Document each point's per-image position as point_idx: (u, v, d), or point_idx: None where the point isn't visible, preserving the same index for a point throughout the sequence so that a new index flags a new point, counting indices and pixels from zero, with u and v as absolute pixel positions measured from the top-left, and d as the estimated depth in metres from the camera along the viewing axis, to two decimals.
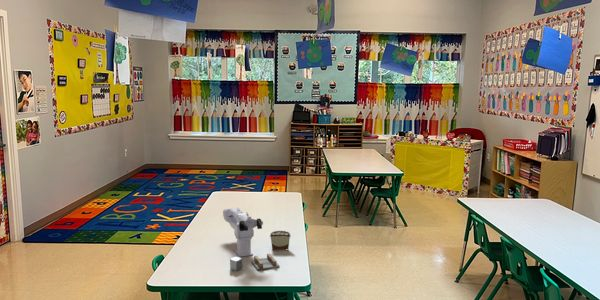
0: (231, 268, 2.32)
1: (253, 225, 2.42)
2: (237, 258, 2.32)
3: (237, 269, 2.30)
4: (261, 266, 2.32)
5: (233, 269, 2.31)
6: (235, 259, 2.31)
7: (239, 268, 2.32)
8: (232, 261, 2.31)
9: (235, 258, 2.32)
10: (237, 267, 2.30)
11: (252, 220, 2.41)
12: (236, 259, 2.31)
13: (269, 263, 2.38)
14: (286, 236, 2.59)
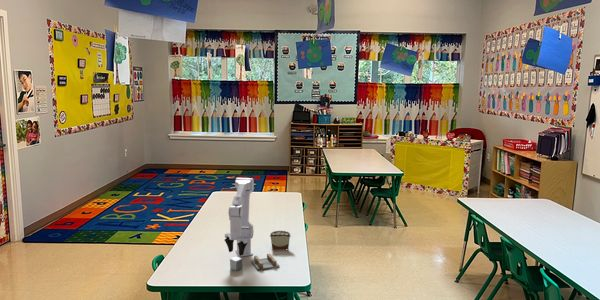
0: (231, 268, 2.32)
1: None
2: (237, 258, 2.32)
3: (237, 269, 2.30)
4: (261, 266, 2.32)
5: (233, 269, 2.31)
6: (235, 259, 2.31)
7: (239, 268, 2.32)
8: (232, 261, 2.31)
9: (235, 258, 2.32)
10: (237, 267, 2.30)
11: None
12: (236, 259, 2.31)
13: (269, 263, 2.38)
14: (286, 236, 2.59)
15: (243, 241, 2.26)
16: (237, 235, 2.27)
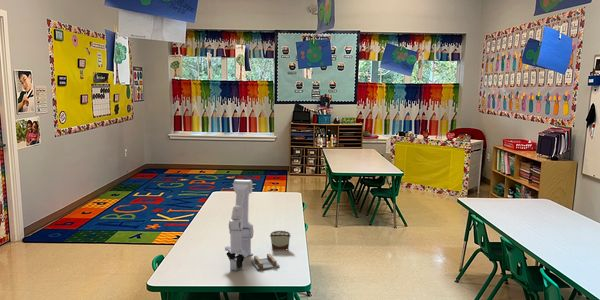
0: (231, 268, 2.32)
1: None
2: None
3: (237, 269, 2.30)
4: (261, 266, 2.32)
5: (233, 269, 2.31)
6: (235, 259, 2.31)
7: (239, 268, 2.32)
8: (232, 261, 2.31)
9: (235, 258, 2.32)
10: (237, 267, 2.30)
11: None
12: (236, 259, 2.31)
13: (269, 263, 2.38)
14: (286, 236, 2.59)
15: (243, 255, 2.27)
16: (237, 249, 2.29)
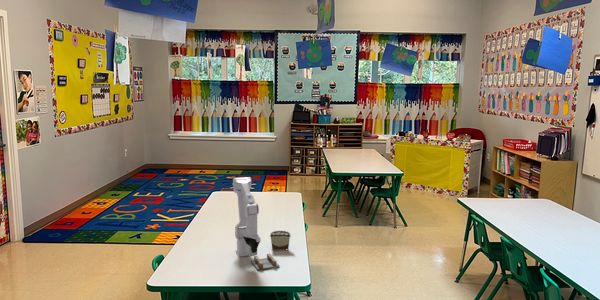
0: (246, 252, 2.35)
1: None
2: None
3: (251, 254, 2.32)
4: (261, 266, 2.32)
5: (247, 253, 2.33)
6: (250, 244, 2.33)
7: (253, 253, 2.33)
8: (247, 245, 2.33)
9: (250, 243, 2.35)
10: (251, 252, 2.32)
11: None
12: None
13: (269, 263, 2.38)
14: (286, 236, 2.59)
15: (256, 239, 2.28)
16: (252, 233, 2.30)
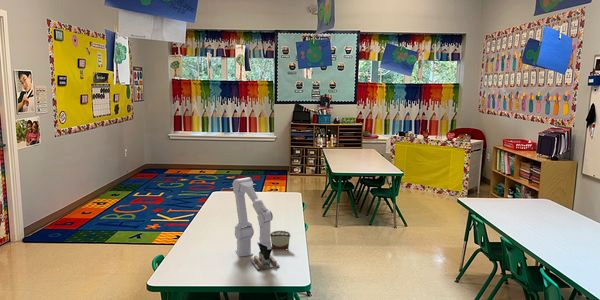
0: None
1: None
2: None
3: (263, 263, 2.36)
4: (261, 266, 2.32)
5: None
6: (262, 253, 2.37)
7: (265, 262, 2.37)
8: (260, 254, 2.38)
9: None
10: (263, 261, 2.36)
11: None
12: (263, 253, 2.37)
13: None
14: (286, 236, 2.59)
15: (267, 247, 2.31)
16: (264, 240, 2.34)
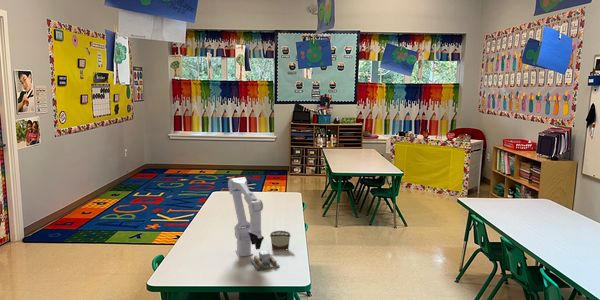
0: None
1: None
2: (264, 252, 2.37)
3: (263, 263, 2.36)
4: (261, 266, 2.32)
5: None
6: (263, 253, 2.37)
7: (266, 262, 2.37)
8: (260, 254, 2.38)
9: (264, 252, 2.38)
10: (264, 261, 2.36)
11: None
12: (263, 253, 2.37)
13: None
14: (286, 236, 2.59)
15: (257, 236, 2.32)
16: (254, 229, 2.35)
